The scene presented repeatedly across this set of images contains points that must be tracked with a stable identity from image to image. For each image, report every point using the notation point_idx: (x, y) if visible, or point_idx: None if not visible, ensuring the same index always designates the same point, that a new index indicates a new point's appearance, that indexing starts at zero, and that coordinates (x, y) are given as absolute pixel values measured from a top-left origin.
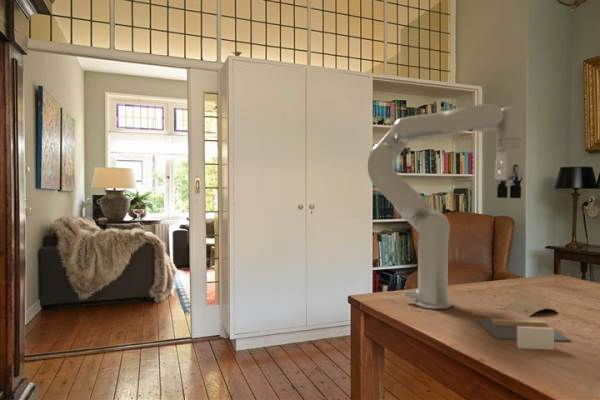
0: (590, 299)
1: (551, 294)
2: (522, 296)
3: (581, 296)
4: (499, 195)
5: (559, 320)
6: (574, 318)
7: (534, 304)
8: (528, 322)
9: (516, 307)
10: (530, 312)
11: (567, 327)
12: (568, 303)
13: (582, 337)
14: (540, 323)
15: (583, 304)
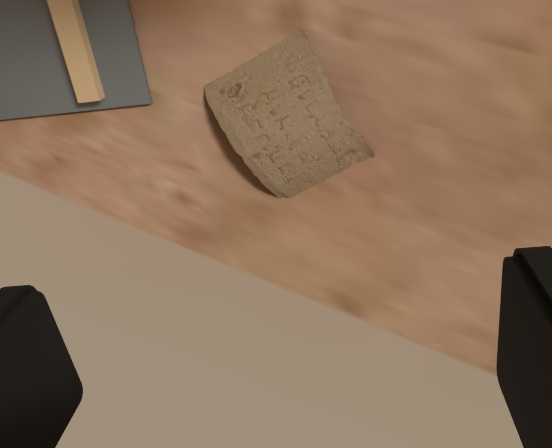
0: (471, 355)
1: None
2: (504, 160)
3: None
4: (515, 291)
5: (189, 169)
6: (225, 219)
7: (288, 139)
8: (61, 45)
9: (276, 70)
10: (218, 100)
11: (121, 163)
12: (409, 274)
13: (42, 165)
14: (73, 83)
15: (402, 310)
